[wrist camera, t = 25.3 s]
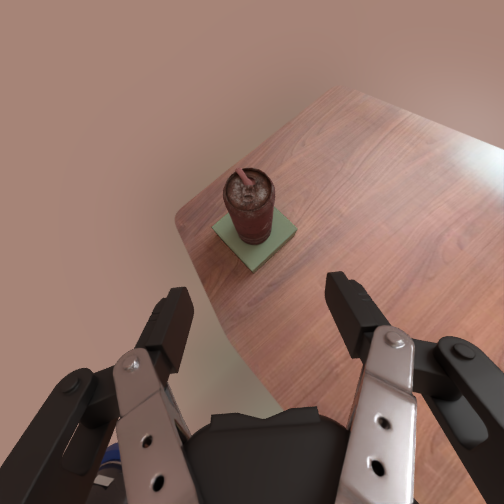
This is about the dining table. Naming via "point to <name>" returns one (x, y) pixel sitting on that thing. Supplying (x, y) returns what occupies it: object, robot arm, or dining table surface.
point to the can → (250, 204)
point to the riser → (262, 252)
